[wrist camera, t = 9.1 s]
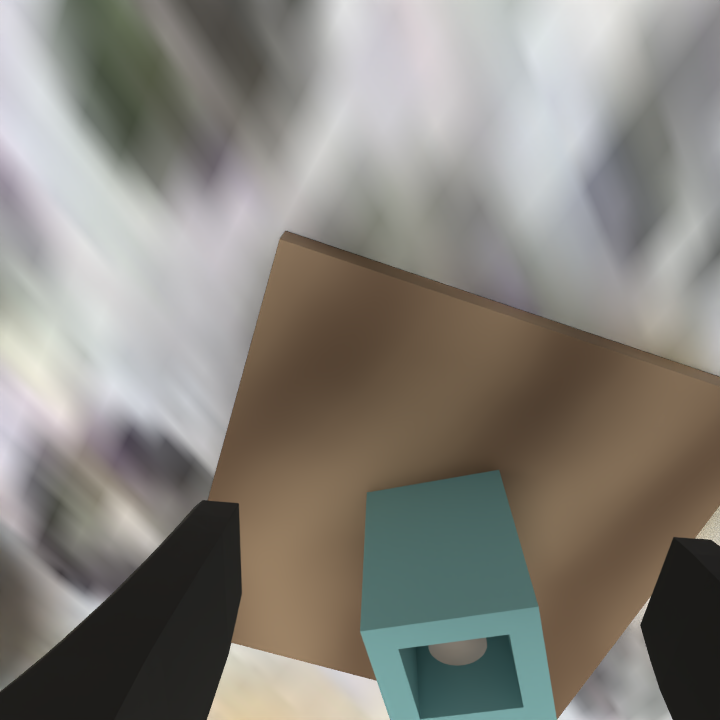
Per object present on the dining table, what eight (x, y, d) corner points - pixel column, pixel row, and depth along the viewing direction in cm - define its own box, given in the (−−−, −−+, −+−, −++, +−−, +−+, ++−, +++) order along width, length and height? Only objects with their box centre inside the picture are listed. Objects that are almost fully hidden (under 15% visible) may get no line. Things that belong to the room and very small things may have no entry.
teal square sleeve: (498, 469, 19) (538, 606, 14) (516, 570, 21) (557, 722, 16) (366, 492, 20) (360, 631, 15) (394, 588, 21) (397, 741, 17)
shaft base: (772, 394, 19) (911, 508, 14) (545, 703, 25) (585, 855, 20) (285, 230, 17) (243, 292, 12) (180, 606, 24) (126, 745, 19)
